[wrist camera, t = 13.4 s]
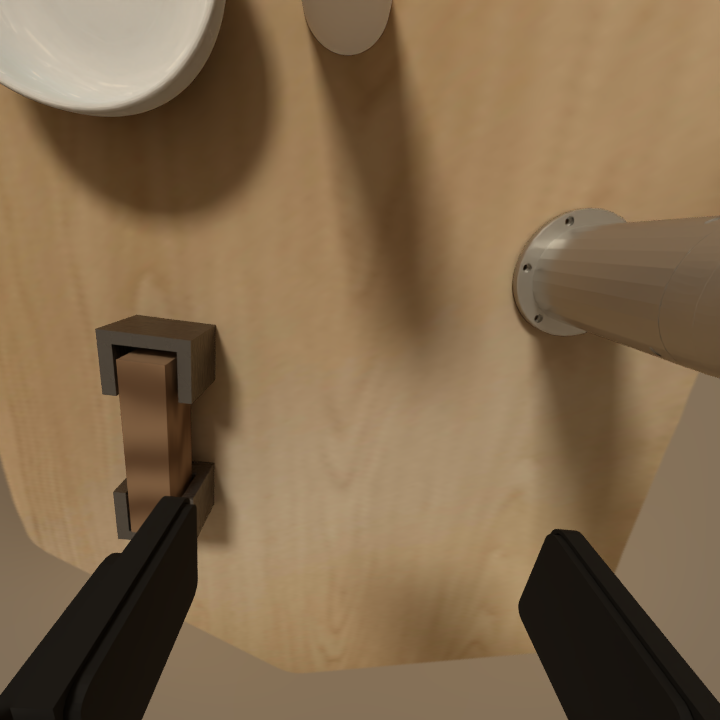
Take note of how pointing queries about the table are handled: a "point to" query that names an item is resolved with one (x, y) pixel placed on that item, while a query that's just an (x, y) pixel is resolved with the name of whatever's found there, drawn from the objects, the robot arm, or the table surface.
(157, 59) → the serving bowl
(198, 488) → the bracket
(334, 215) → the table surface
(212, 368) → the bracket
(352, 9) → the cylindrical container
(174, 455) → the walnut rail
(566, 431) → the table surface
